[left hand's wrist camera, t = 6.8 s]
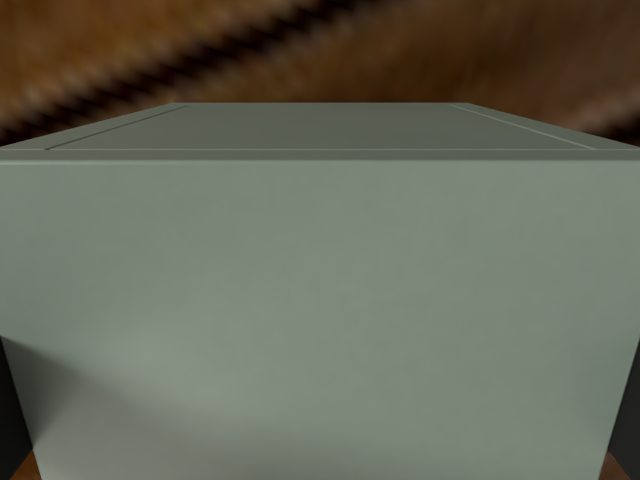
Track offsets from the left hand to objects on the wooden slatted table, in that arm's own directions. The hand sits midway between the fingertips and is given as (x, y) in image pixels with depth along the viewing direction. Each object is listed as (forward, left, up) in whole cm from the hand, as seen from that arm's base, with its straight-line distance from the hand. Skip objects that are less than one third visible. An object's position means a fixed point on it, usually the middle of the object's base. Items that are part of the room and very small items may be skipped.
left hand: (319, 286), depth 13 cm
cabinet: (+2, +6, -7) cm, 9 cm away
